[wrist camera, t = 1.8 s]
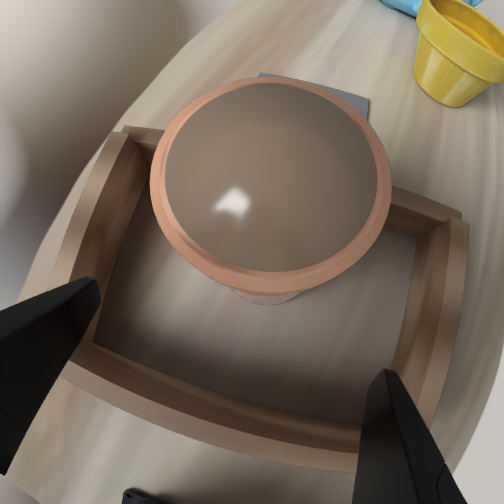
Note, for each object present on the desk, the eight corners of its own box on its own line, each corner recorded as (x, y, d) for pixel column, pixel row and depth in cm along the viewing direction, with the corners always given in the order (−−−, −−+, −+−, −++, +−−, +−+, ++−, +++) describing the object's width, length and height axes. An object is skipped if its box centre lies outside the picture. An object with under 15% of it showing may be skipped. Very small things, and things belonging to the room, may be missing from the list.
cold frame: (384, 442, 17) (419, 475, 11) (74, 348, 20) (23, 352, 14) (434, 229, 21) (477, 201, 15) (142, 152, 23) (113, 109, 17)
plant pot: (429, 47, 26) (455, -10, 16) (489, 107, 24) (530, 57, 14) (377, 62, 25) (403, -10, 15) (449, 135, 23) (501, 71, 13)
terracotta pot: (305, 321, 20) (370, 322, 7) (201, 292, 20) (113, 248, 8) (330, 220, 21) (398, 107, 9) (232, 194, 22) (199, 63, 9)
